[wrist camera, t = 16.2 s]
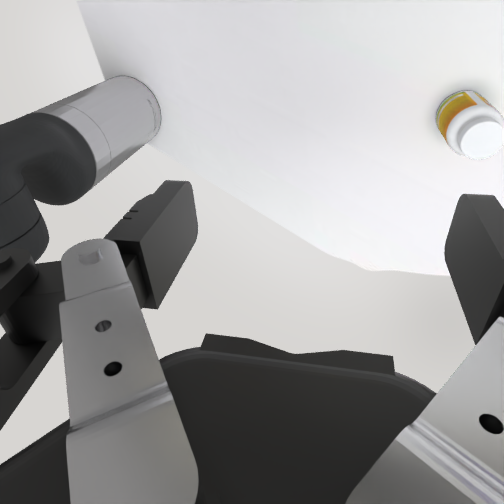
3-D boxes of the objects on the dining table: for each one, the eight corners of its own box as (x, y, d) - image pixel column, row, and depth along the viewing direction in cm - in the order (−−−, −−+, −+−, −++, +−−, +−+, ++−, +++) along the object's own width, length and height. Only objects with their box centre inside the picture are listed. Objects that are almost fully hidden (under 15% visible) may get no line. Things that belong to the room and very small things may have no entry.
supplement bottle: (429, 134, 47) (445, 164, 39) (443, 88, 44) (463, 111, 36) (475, 137, 46) (501, 169, 39) (492, 91, 43) (524, 116, 35)
